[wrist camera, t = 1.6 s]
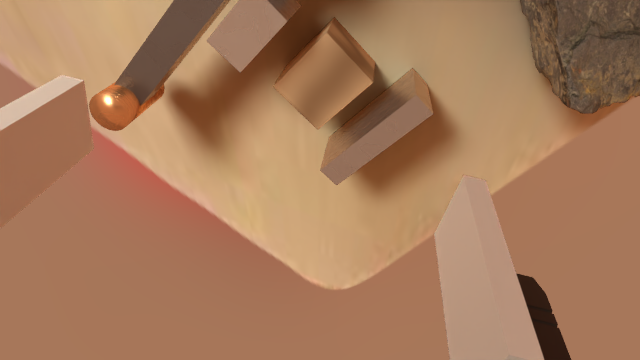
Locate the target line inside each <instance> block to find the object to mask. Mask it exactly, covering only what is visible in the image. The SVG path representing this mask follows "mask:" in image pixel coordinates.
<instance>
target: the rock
mask: <svg viewBox="0 0 640 360" xmlns="http://www.w3.org/2000/svg"><path fill="white" fill-rule="evenodd" d="M521 5H522V12H523V13H524V14H525V15H526V16H527V17H528V20H529V23H530V32H531V46H532V52H533V58H534V60H535V65H536V68H537V70H538V71H539V73H542V74H543V75H544V76H545V77H547V78H549V80H550V82H551V85H552V90H553V93H554V94H555V95H557V96H558V97H559V98H560V99H561V101H562V102H563V103H564V104H565V105H566V106H567V107H569V108H572V109H574V110H577V111H579V112H580V113H594V112H596V111H597V110H598V109H600V108H603V107H605V106H610V105H611V104H612V103H617V102H619V103H623V102H626V101H628V100H629V98H630V97H631V96H635V97H637V96H640V0H521Z"/></svg>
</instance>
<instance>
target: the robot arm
mask: <svg viewBox="0 0 640 360" xmlns="http://www.w3.org/2000/svg"><path fill="white" fill-rule="evenodd" d="M93 149H94V145H93V138H92V132H91V125H90V118H89V111H88V105H87V98H86V91H85V85H84V80H81V79H77V78H72V77H68V76H64V75H61V76H59V77H57V78H55V79H53V80H51V81H50V82H48V83H46V84H44V85H42V86H40V87H39V88H37V89H35V90H33V91H31V92H30V93H28V94H26V95H24V96H22V97H20V98H18V99H17V100H15V101H13V102H11V103H9V104H7V105H6V106H4V107H2V108H0V229H1V228H2V227H3V226H4V225H5V224H6V223H8V222H9V221H10V220H11V219H12V218H14V217H15V216H16V215H17V214H18V213H19V212H20V211H22V210H23V209H24V208H25V207H26V206H28V205H29V204H30V203H31V202H32V201H33V200H35V199H36V198H37V197H38V196H39V195H40V194H42V193H43V192H44V191H45V190H46V189H47V188H49V187H50V186H51V185H52V184H53V183H54V182H56V181H57V180H58V179H59V178H60V177H62V176H63V175H64V174H65V173H66V172H67V171H69V170H70V169H71V168H72V167H73V166H74V165H76V164H77V163H78V162H79V161H80V160H81V159H83V158H84V157H85V156H86V155H87V154H89V153H90V152H91V151H92V150H93ZM434 236H435V243H436V252H437V260H438V268H439V276H440V285H441V293H442V301H443V308H444V317H445V325H446V333H447V341H448V350H449V357H450V360H571V358H570V355H569V353H568V350H567V348H566V345H565V342H564V340H563V337H562V335H561V332H560V330H559V328H557V325H558V324H557V322H556V319H555V317H554V314H552V309H551V306H550V303H549V301H548V298H547V296H546V294H545V292H544V291H543V290H542V288H541V287H540V286H539V285H538V283H537V282H536V281H535V280H534V278H532V277H528V276H524V275H520V274H516V272H515V269H514V265H513V262H512V260H511V256H510V253H509V250H508V247H507V244H506V241H505V238H504V235H503V232H502V229H501V226H500V222H499V219H498V216H497V213H496V210H495V207H494V204H493V201H492V198H491V195H490V192H489V189H488V186H487V183H486V180H483V179H479V178H475V177H471V176H467V175H463V177H462V179H461V181H460V183H459V185H458V187H457V189H456V191H455V193H454V195H453V197H452V199H451V201H450V203H449V205H448V207H447V209H446V211H445V213H444V215H443V217H442V219H441V221H440V223H439V225H438V227H437V229H436V231H435V233H434Z"/></svg>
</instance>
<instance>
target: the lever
mask: <svg viewBox="0 0 640 360" xmlns="http://www.w3.org/2000/svg"><path fill="white" fill-rule="evenodd" d="M229 1H230V0H174V1H173V3H172V4H171V5H170V7H169V8H168V10H167V11H166V12H165V14H164V15H163V17H162V18H161V19H160V21H159V22H158V24H157V25H156V26H155V28H154V29H153V31H152V32H151V33H150V35H149V36H148V38H147V39H146V41H145V42H144V43H143V45H142V46H141V48H140V49H139V50H138V52H137V53H136V55H135V56H134V57H133V59H132V60H131V62H130V63H129V64H128V66H127V67H126V69H125V70H124V71H123V73H122V74H121V76H120V77H119V79H118V80H117V81H116V82H115V83H113V84H112V85H110V86H109V87H107V88H106V89H104V90H103V91H101V92H99V93H98V94H96V95H95V96H93V97H92V99H91V100H90V104H89V107H90V112H91V114H92V116H93V118H94V119H95V120H96V121H97V122H98V123H99V124H100V125H101V126H103V127H104V128H107V129H109V130H114V131H118V130H122V129H123V128H125V127H126V126H127V125H128V124H130V123H131V122H132V121H133V120H134V119H135V118H137V117H138V116H139V115H140V114H141V113H143V112H144V111H145V110H146V109H147V108H149V107H150V106H151V105H152V104H153V103H155V102H156V101H157V100H158V99H159V98H161V97H162V95H163V93H164V83H165V81H166V80H167V79H168V78H169V76H170V75H171V74H172V73H173V71H174V70H175V69H176V68H177V66H178V65H179V64H180V63H181V61H182V60H183V59H184V58H185V56H186V55H187V54H188V53H189V51H190V50H191V49H192V48H193V46H194V45H195V44H196V43H197V41H198V40H199V39H200V38H201V36H202V35H203V34H204V33H205V31H206V30H207V29H208V28H209V26H210V25H211V24H212V23H213V21H214V20H215V19H216V18H217V16H218V15H219V14H220V13H221V11H222V10H223V9H224V7H225V6H226V5H227V4H228V2H229ZM301 6H302V5H301V4H300V3H299V2H298V1H297V0H239V1H238V2H237V4H236V5H235V6H234V7H233V9H232V10H231V11H230V12H229V14H228V15H227V16H226V17H225V18H224V20H223V21H222V22H221V23H220V25H219V26H218V27H217V28H216V30H215V31H214V32H213V33H212V34H211V36H210V37H209V38H208V39H207V42H208V43H209V44H210V45H211V46H212V47H214V48H215V49H216V50H217V51H218V52H219V53H220V54H221V55H222V56H223V57H224V58H225V59H226V60H227V61H228V62H229V63H230V64H231V65H233V66H234V67H235V68H236V69H237V70H238V71H239V72H240V73H241V71H242V70H243V69H244V68H245V67H246V66H247V65H248V64H249V63H250V62H251V61H252V59H253V58H254V57H255V56H256V55H257V54H258V53H259V52H260V51H261V50H262V49H263V48H264V46H265V45H266V44H267V43H268V42H269V41H270V40H271V39H272V38H273V37H274V36H275V34H276V33H277V32H278V31H279V30H280V29H281V28H282V27H283V26H284V25H285V24H286V22H287V21H288V20H289V19H290V18H291V17H292V16H293V15H294V13H295V12H296V11H297V10H298V9H299V8H300V7H301Z"/></svg>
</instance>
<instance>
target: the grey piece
mask: <svg viewBox="0 0 640 360" xmlns="http://www.w3.org/2000/svg"><path fill="white" fill-rule="evenodd" d="M431 115H433V110H432V105H431V100H430V95H429V90H428V85H427V84H426V82H425V81H424V80H423V79H422V78H421V77H420V76H419V74H418V73H417V72H416V71H415V70H414V69H413V68H412V69H411V70H410V71H408V72H407V73H406V74H405V75H404V76H402V77H401V78H400V79H399V80H398V81H396V82H395V83H394V84H393V85H392V86H390V87H389V88H388V89H387V90H385V91H384V92H383V93H382V94H381V95H379V96H378V97H377V98H376V99H375V100H373V101H372V102H371V103H370V104H369V105H367V106H366V107H365V108H364V109H362V110H361V111H360V112H359V113H358V114H356V115H355V116H354V117H353V118H352V119H350V120H349V121H348V122H347V123H345V124H344V125H343V126H342V127H341V128H339V129H338V130H337V131H336V132H335V133H333V134H332V135H331V136H330V137H329V139H328V143H327V147H326V150H325V154H324V158H323V161H322V165H321V169H320V171H321V172H323V173H324V174H325V175H326V176H327V177H328V178H329V179H330V180H331V181H332V182H333V183H334V184H336V185H338V184H339V183H341V182H342V181H343V180H345V179H346V178H347V177H349V176H350V175H351V174H353V173H354V172H355V171H357V170H358V169H359V168H361V167H362V166H364V165H365V164H366V163H368V162H369V161H370V160H372V159H373V158H374V157H376V156H377V155H378V154H380V153H381V152H383V151H384V150H385V149H387V148H388V147H389V146H391V145H392V144H393V143H395V142H396V141H397V140H399V139H400V138H402V137H403V136H404V135H406V134H407V133H408V132H410V131H411V130H412V129H414V128H415V127H416V126H418V125H419V124H420V123H422V122H423V121H425V120H426V119H427V118H429V117H430V116H431Z"/></svg>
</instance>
